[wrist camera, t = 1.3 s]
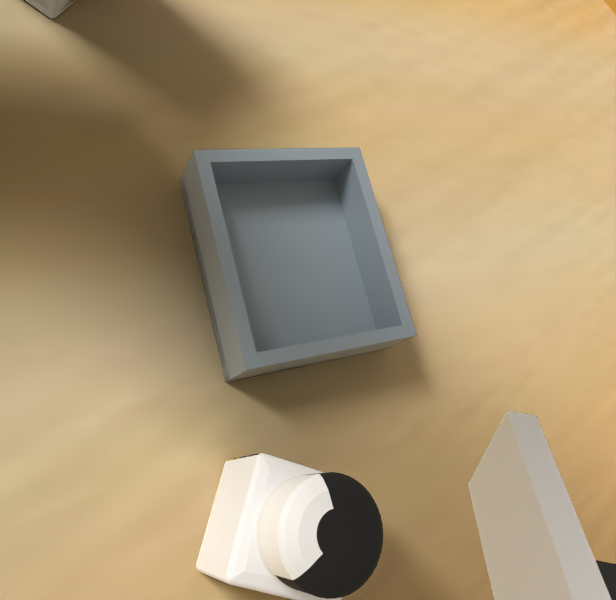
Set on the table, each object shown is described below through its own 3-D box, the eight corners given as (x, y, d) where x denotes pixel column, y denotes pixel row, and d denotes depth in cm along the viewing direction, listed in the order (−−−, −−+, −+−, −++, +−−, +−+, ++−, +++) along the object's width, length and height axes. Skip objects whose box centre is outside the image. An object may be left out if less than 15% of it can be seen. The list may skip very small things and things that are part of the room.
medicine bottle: (316, 486, 42) (409, 481, 32) (292, 594, 39) (386, 627, 29) (224, 458, 40) (292, 443, 30) (192, 570, 37) (255, 596, 27)
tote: (179, 180, 45) (193, 149, 41) (334, 174, 52) (359, 147, 48) (225, 382, 42) (245, 370, 38) (385, 348, 48) (416, 335, 44)
